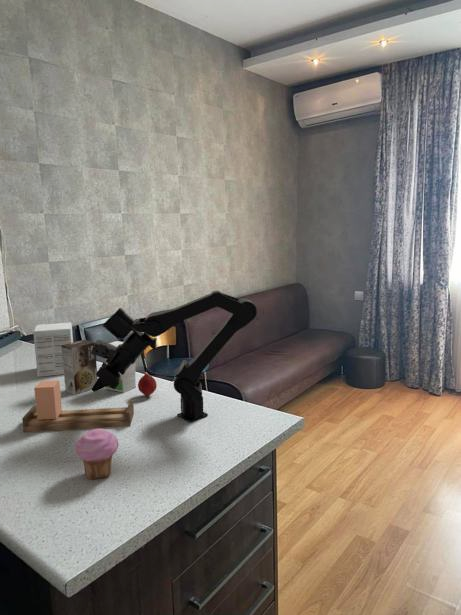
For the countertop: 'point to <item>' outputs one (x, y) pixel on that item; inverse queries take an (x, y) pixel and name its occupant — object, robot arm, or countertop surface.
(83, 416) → the wooden slide track
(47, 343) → the supplement box
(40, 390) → the block
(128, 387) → the skincare box
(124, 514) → the countertop surface
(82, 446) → the cupcake
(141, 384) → the onion
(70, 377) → the coffee box
